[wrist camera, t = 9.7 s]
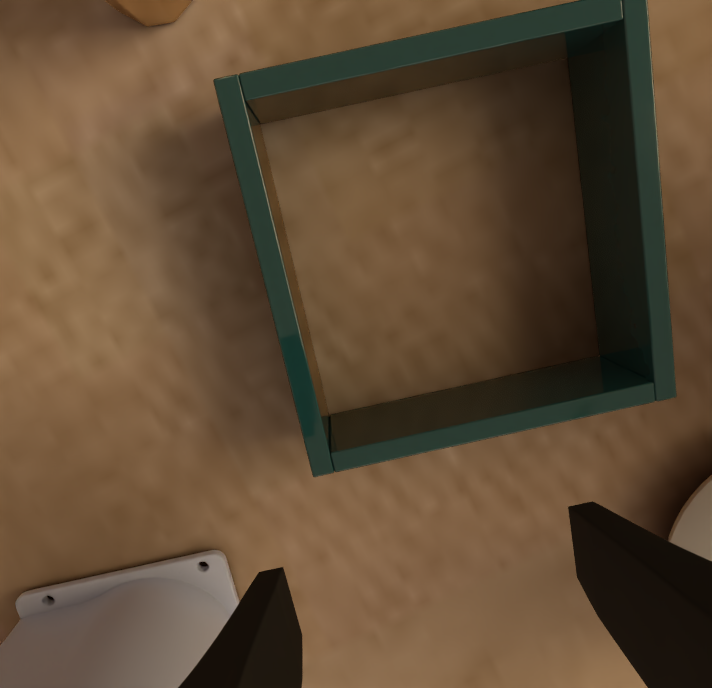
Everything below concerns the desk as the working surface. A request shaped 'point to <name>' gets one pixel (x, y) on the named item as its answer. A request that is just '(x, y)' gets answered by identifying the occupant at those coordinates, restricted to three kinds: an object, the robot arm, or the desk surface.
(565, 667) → the desk surface
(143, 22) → the milkshake
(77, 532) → the desk surface
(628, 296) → the holder
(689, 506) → the flower in vase
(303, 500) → the desk surface
